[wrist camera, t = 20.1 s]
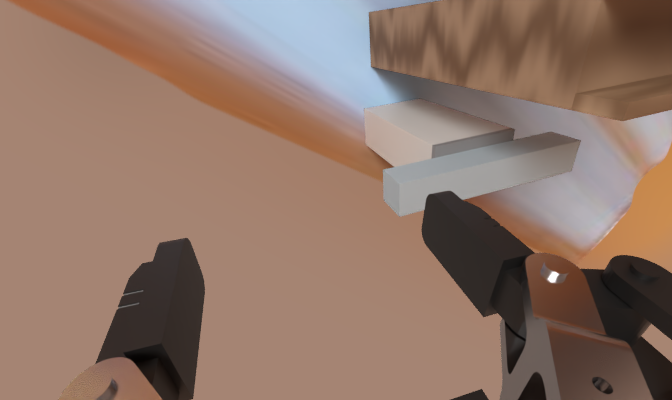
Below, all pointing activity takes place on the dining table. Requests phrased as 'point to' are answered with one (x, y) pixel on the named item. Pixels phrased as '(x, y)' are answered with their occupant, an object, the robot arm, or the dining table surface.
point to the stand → (537, 50)
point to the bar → (479, 170)
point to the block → (427, 131)
